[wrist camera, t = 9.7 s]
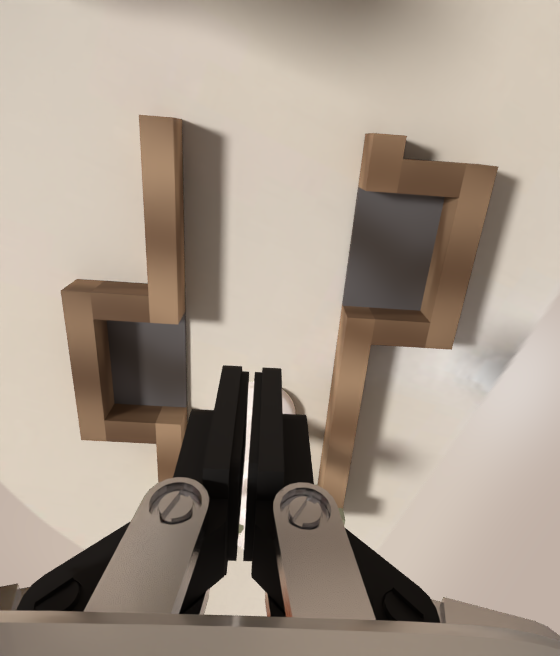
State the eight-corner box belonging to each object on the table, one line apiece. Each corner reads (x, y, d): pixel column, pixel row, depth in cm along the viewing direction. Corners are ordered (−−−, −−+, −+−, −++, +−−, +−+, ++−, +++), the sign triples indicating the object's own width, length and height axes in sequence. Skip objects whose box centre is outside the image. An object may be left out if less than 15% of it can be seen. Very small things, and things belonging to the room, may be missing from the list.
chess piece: (308, 398, 28) (325, 528, 18) (274, 454, 29) (274, 598, 20) (237, 368, 27) (218, 489, 17) (207, 428, 28) (174, 566, 19)
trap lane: (56, 109, 21) (23, 105, 18) (484, 143, 22) (515, 143, 19) (102, 491, 30) (85, 526, 28) (398, 505, 31) (410, 540, 28)
